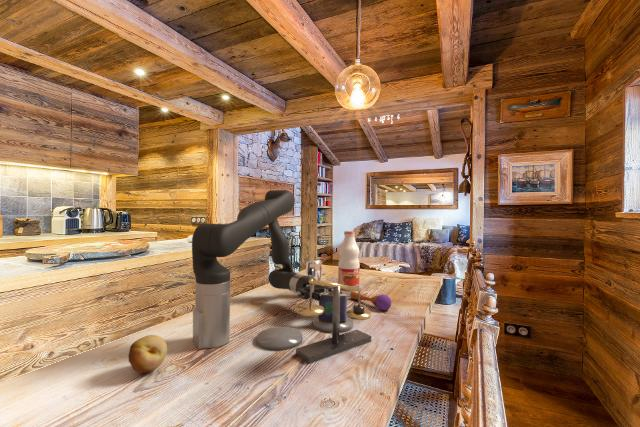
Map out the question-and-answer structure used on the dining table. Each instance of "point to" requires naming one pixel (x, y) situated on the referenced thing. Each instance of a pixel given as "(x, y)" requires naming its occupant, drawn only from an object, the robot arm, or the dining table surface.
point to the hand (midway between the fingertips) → (331, 296)
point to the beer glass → (314, 269)
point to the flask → (328, 307)
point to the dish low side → (328, 326)
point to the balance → (333, 326)
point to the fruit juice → (349, 263)
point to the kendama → (375, 300)
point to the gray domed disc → (279, 338)
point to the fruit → (147, 353)
